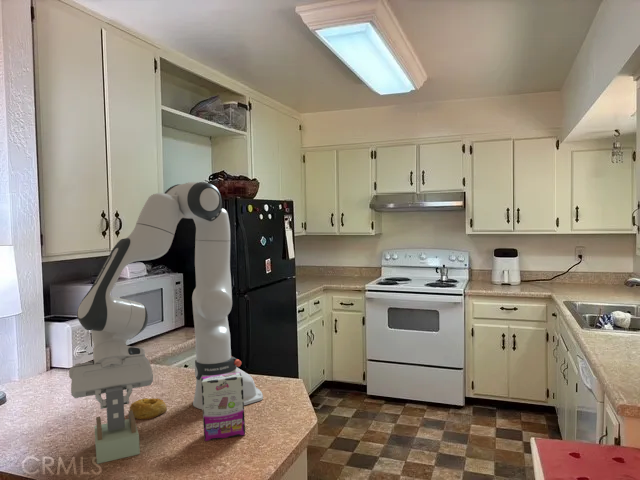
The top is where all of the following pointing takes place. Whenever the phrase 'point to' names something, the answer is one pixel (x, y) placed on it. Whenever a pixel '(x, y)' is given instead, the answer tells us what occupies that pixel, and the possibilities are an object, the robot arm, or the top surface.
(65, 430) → the top surface
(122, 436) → the bracket shelf
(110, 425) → the tall grey pillar
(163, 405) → the bagel
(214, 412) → the candy bar box
